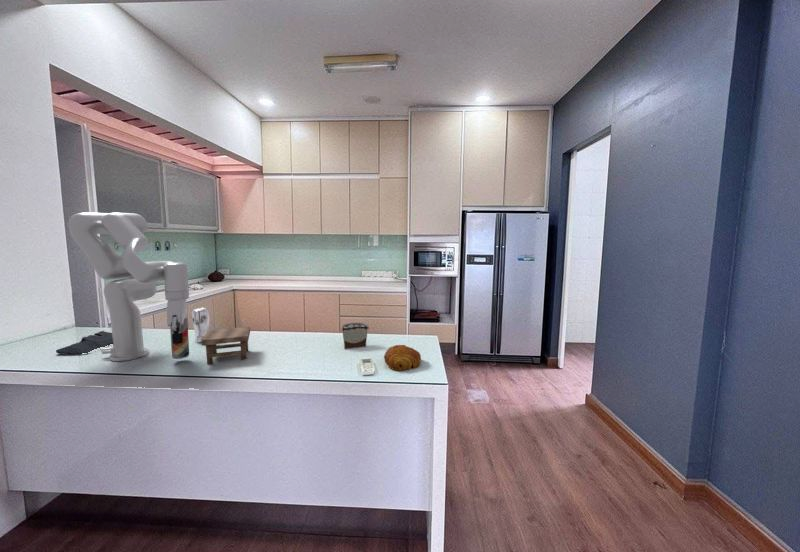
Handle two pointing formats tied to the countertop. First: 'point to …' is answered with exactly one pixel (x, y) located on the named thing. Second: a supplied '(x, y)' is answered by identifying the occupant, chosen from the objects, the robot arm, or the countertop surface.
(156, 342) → the countertop surface
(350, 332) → the food container
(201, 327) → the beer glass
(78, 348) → the dark slate chunk
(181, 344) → the lotion bottle
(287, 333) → the countertop surface
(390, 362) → the croissant
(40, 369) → the countertop surface
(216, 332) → the walnut stool
